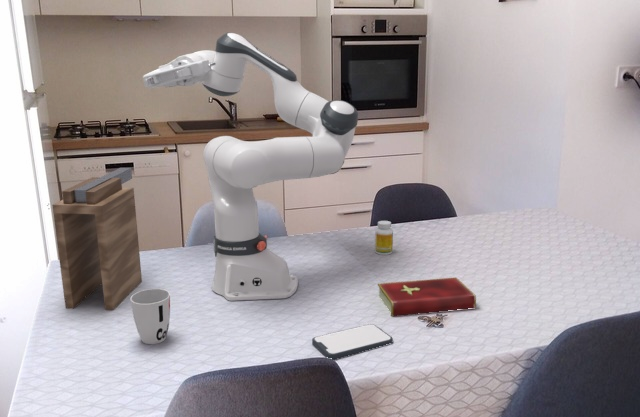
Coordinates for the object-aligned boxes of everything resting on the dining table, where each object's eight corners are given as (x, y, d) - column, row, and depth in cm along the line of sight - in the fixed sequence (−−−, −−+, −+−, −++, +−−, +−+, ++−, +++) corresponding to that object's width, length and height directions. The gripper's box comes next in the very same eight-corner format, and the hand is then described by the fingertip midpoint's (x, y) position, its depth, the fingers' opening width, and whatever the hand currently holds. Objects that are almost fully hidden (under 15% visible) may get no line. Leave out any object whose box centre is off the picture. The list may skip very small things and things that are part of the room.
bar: (132, 178, 163) (131, 167, 162) (87, 202, 138) (86, 190, 137) (121, 178, 163) (120, 167, 163) (75, 202, 138) (73, 190, 138)
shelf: (141, 281, 160) (132, 176, 152) (113, 310, 143) (100, 193, 135) (99, 279, 161) (87, 175, 154) (65, 308, 144) (50, 192, 136)
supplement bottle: (372, 250, 184) (373, 220, 181) (389, 248, 185) (389, 219, 182) (377, 256, 179) (378, 225, 176) (394, 254, 180) (395, 224, 177)
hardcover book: (475, 311, 143) (476, 294, 142) (391, 318, 139) (392, 302, 138) (455, 291, 154) (456, 276, 153) (377, 298, 150) (377, 282, 149)
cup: (162, 349, 124) (159, 305, 122) (127, 345, 126) (123, 302, 123) (179, 331, 132) (176, 290, 129) (145, 328, 134) (141, 287, 131)
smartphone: (372, 328, 134) (309, 344, 127) (372, 322, 134) (309, 337, 127) (395, 345, 127) (329, 363, 120) (395, 339, 127) (330, 355, 119)
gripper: (221, 73, 171) (197, 82, 158) (163, 87, 178) (136, 97, 166) (215, 51, 169) (190, 58, 157) (156, 67, 176) (128, 74, 164)
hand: (162, 78), depth 161 cm, fingers open, 8 cm apart
